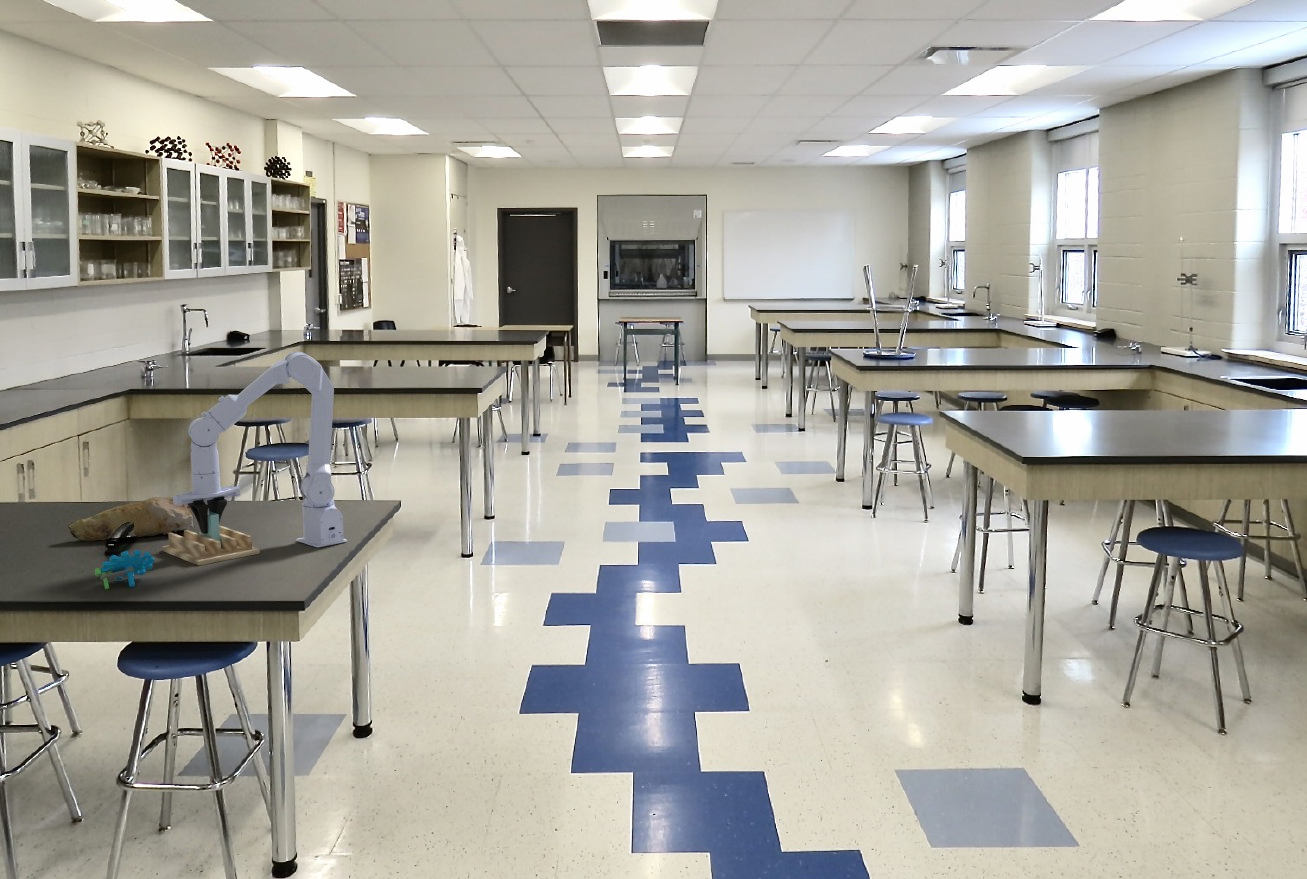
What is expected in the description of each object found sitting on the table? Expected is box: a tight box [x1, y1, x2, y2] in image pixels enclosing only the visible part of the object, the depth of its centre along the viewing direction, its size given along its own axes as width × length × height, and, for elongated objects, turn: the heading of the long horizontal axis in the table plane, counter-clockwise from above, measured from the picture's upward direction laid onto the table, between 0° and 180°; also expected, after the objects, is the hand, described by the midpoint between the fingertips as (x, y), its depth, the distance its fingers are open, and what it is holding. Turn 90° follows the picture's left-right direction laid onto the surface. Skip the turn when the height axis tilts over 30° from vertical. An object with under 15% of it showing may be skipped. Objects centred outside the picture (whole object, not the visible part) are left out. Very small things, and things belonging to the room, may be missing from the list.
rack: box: [161, 524, 261, 566], centre depth 251 cm, size 18×14×4 cm
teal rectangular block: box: [198, 510, 220, 542], centre depth 251 cm, size 6×2×8 cm, turn 47°
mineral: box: [67, 496, 195, 542], centre depth 264 cm, size 26×9×10 cm
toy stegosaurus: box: [94, 549, 156, 590], centre depth 225 cm, size 11×6×10 cm
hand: (209, 531), depth 251 cm, fingers closed on teal rectangular block, 2 cm apart
